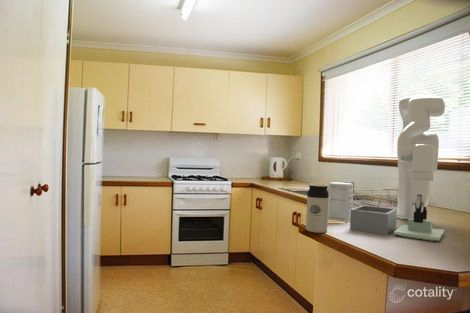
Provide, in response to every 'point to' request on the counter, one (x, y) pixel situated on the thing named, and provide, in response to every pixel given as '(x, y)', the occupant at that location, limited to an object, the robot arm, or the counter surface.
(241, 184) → the counter surface
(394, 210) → the tub
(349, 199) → the supplement box
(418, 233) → the lid
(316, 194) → the travel mug
